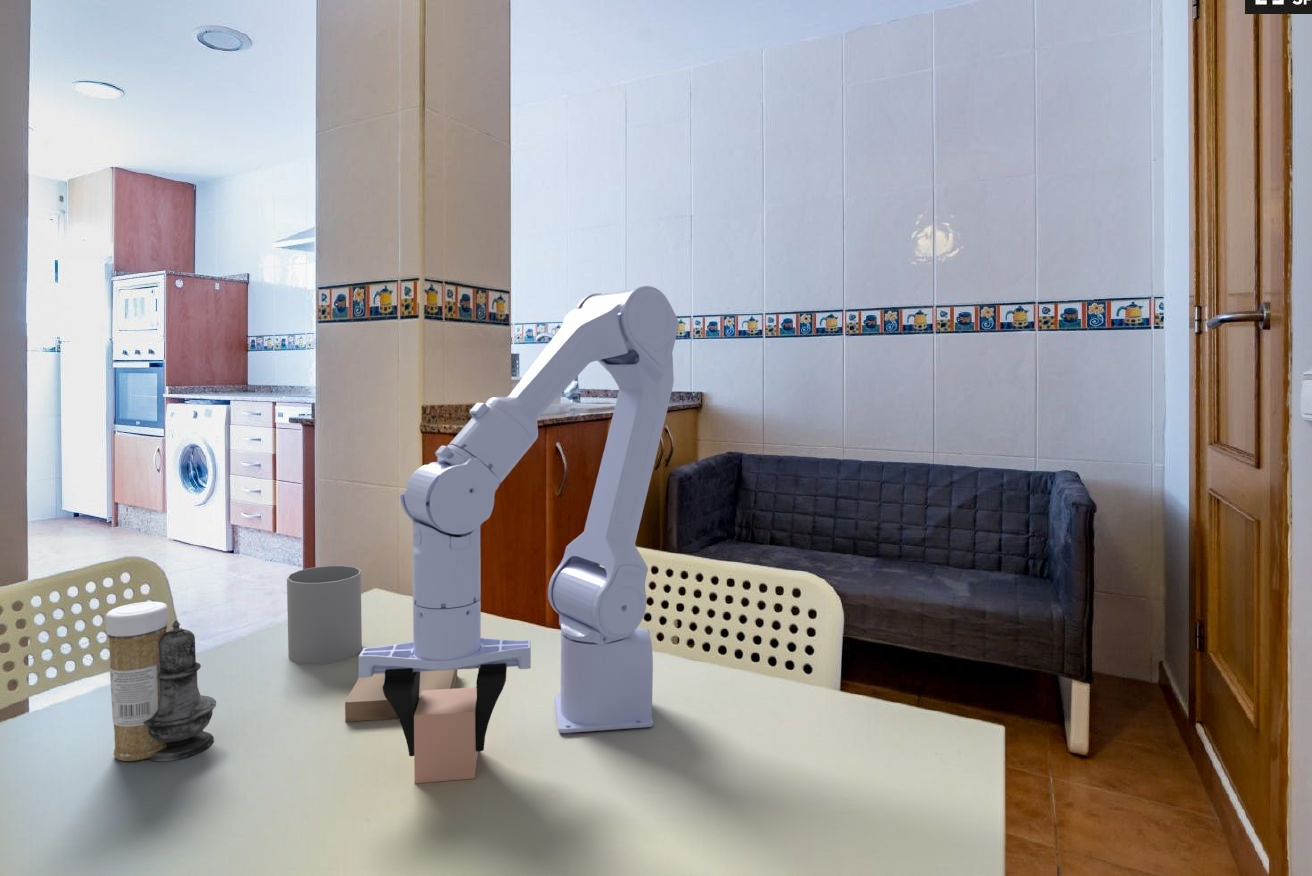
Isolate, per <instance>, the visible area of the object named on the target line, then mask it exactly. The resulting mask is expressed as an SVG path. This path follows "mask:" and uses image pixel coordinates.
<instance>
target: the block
mask: <svg viewBox="0 0 1312 876" xmlns="http://www.w3.org/2000/svg"><path fill="white" fill-rule="evenodd" d="M476 729H477V688H476V687H475V686H473V687H459V688H456V687H455V688H454V689H439V690H422V693H421V696H420V699H419V702H418V705H417V708H416V711H415V714H414V756H413V757H414V758H413V759H414V760H413V761H414V784H423V783H424V784H425V783H426V784H427V783H435V782H436V783H437V782H447V781H448V782H449V781H458V780H459V781H461V780H463V781H464V780H470V779H474V780H475V777H476V772H477V771H476V770H477V764H478V763H477V762H478V755H479V751H476Z"/></svg>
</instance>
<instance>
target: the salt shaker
mask: <svg viewBox="0 0 1312 876" xmlns="http://www.w3.org/2000/svg"><path fill="white" fill-rule="evenodd" d="M180 626H181V623H180V622H179V621H178V620H174V622H173V624H171V627H172V628H171V629H170V630H169V631H166V633H165V634H164V635H163V636H162V638H161V639H160V641H159V654H160V673H159V674H158V675H157V678H160V692H161V696H160V703H159V708H158V710H157V712H156V713H155V714H154V716H153V717H152V718H150V719H148V720H146V721H144V722H143V723H144V724H145V725H148V732H149V734H150V735H151V737H152V738H153V739H155V740H157V741H159V742H166V745H167V747H165V748H164V749H161V750H159V751H157V752H155V753H154V756H151V757H149V758H147V759H148V760H149V761H154V762H163V763H164V762H172V761H173V762H174V761H178V760H182V759H185V758H190V757H192V756H194V755H197V754H199V753H202V752H203V751H205V750H207V749H208V748H209V747H210V746H212V745H213V742H214V737H215V736H214V735H213V734H212V733H210V732H208V731H205V729H206V727H208V725H209V724H210V721H211V719H212V717H213V710H214V709H215V708H216V706H217V701H216V699H215V698H213V697H212V696H208V695H201V692H200V689H199V686H198V671H199V670H200V669H201V668H202V667H201V666H202V665H201V664H200V662H196V661H197V659H196V658H197V656H196V655H197V654H196V637H195V636H196V635H195V634H194V633H193V632H192V631H190V630H188V629H184V628H182V627H180ZM203 730H204V731H203Z"/></svg>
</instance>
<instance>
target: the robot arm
mask: <svg viewBox="0 0 1312 876" xmlns="http://www.w3.org/2000/svg"><path fill="white" fill-rule="evenodd" d="M679 326H680V321H679V320H678V318H677V315H676V314H675V311H674V309H673V306H672V305H671V302H670V301H669V299H668V297H666V295H665V294H664V293H663V292H662V291H661V290H660V289H658V288H656V287H654V286H650V285H643V286H638V287H636V288H633V289H627V290H622V291H621V290H620V291H614V292H607V293H606V292H605V293H602V292H601V293H590V294H588V295H586V296H585V297H583V298H582V299H581V300H580V301H579V302H578V304H577V305H576V307H575V309H572V310H570V311H569V312H568V313H567V314H566V315H565V317H564V318H563V322H562V324H561V327H560V329H559V330H558V331H557V333H556V334H555V335H554V336H553V338H552V339H551V340H550V342H549V343H548V344H547V345H546V347H545V348H544V349H543V351H542V352H541V353H540V354H539V356H538V357H537V359H536V360H535V361H534V362H533V364H531V366H530V367H529V369H528V370H527V371H526V373H525V374H524V375H523V377H522V378H521V379H520V380H519V382H518V383H517V385H516V386H515V387H514V388H513V390H512V391H511V392H510V393H509V395H508V396H494V397H490V398H488V399H487V400H486V401H485V402H476V403H475V404H474V405H473V406H472V408H470V410H469V411H468V413H469V414H470V415H471V417H472V418H470V420H469V421H468V422H467V423H466V424H465V426H463V428H462V429H461V430H460V431H459V432H457V433H458V434H456V435H455V437H454V438H453V439H452V440H451V441H450V442H449V444H447V446H446V445H441V446H440V447H439V448H438V449H437V450H436V451H435V452H434V455H435V456H436V457H437V459H436V460H437V461H433V462H429V463H428V464H424V465H422V466H420V467H419V468H417V469H416V470H415V471H414V472H413V473H412V474H411V476H410V477H409V479H408V481H407V482H406V485H405V487H406V490H404V493H401V494H400V496H399V497H400V504H401V507H402V509H403V511H404V513H405V514H406V515H407V517H408V518H409V519H410V520H411V521H412V603H413V604H412V605H413V606H412V607H413V608H412V611H413V612H412V614H413V615H412V616H413V617H412V618H413V619H412V620H413V621H412V623H413V625H412V626H413V627H412V628H413V630H412V631H413V632H412V633H413V636H412V637H413V638H412V639H413V641H408V642H403V643H396V644H389V645H383V646H373V647H363V648H362V650H361V651H360V652H359V655H358V658H357V659H358V661H357V662H358V679H359V678H367V677H372V676H373V674H384V673H385V679H384V685H383V693H384V695H385V697H386V699H387V700H388V702H389V703H390V705H391V706H392V708H393V710H394V711H395V713H396V715H397V717H398V718H397V719H398V721H399V723H400V724H399V725H400V727H401V728H402V731H403V734H404V737H405V741H406V745H407V751H408V756H409V757H414V714H415V711H416V708H417V705H418V702H419V690H420V672H421V671H439V670H457V671H458V670H473V669H475V670H476V669H478V672H477V676H476V683H475V684H476V685H475V686H476V688H477V729H476V751H478V752H483V751H484V750H485V741H486V735H487V731H488V727H489V723H490V720H491V717H492V713H493V711H494V709H495V706H496V704H497V701H498V699H499V697H500V695H501V693H502V691H503V690H504V687H505V684H506V682H507V672H508V671H507V670H508V669H507V667H509V668H511V667H517V668H518V669H520V670H526V669H527V670H528V669H531V668H532V666H531V662H532V661H531V660H532V659H531V658H532V657H531V656H532V655H531V654H532V652H531V648H532V646H531V645H532V643H531V640H530V639H525V640H523V639H522V640H517V639H516V640H515V639H514V640H513V639H501V638H488V637H481V633H482V632H481V631H482V630H481V629H482V628H481V627H482V626H481V623H482V622H481V620H482V617H481V616H482V615H481V610H482V609H481V608H482V605H481V603H482V602H481V600H482V599H481V597H482V596H481V595H482V594H481V593H482V591H481V584H482V583H481V574H482V573H481V565H482V564H481V563H482V561H481V554H482V553H481V526H482V525H483V523H484V522H485V521H487V520H489V518H490V517H491V515H492V512H493V509H494V505H495V494H496V491H497V490H498V488H499V487H500V485H501V484H502V482H503V481H504V480H505V479H506V477H507V476H508V475H509V474H510V473H511V471H512V470H513V469H514V468H515V466H516V465H517V464H518V463H519V461H520V460H521V459H522V458H523V456H524V455H525V454H526V453H527V452H528V451H529V449H530V448H531V447H532V446H533V444H534V443H535V442H536V441H537V439H538V437H539V428H538V419H539V418H540V417H541V415H543V413H544V412H546V410H547V409H548V408H549V407H550V406H551V405H552V404H553V402H554V401H556V400H557V398H558V397H559V396H560V395H561V394H562V393H563V392H564V391H565V390H566V389H567V388H568V387H569V386H570V385H571V383H573V381H574V380H575V379H576V378H577V377H578V376H579V375H580V374H581V373H582V372H583V370H585V368H587V366H588V365H589V364H591V363H594V362H596V361H597V362H598V363H599V364H600V365H601V366H602V367H603V368H604V369H605V370H606V371H607V372H609V374H610V375H611V377H612V379H614V380H613V381H615V383H616V385H617V387H618V394H617V398H616V402H615V405H614V409H613V410H614V411H613V414H612V417H611V421H610V422H611V423H610V426H609V429H608V434H607V438H606V441H605V446H604V451H603V454H602V458H601V461H600V465H599V471H598V474H597V477H596V482H595V485H594V490H593V494H592V497H591V502H590V506H589V509H588V514H587V518H586V521H585V525H584V529H583V530H584V531H582V533H581V534H579V535H578V536H577V537H575V538H574V539H573V540H572V541H571V542H570V543H568V545H566V547H565V550H564V554H563V558H562V560H561V561H560V563H559V565H558V566H557V567H556V569H555V570H554V572H553V574H552V575H551V577H550V580H549V584H548V589H547V597H548V601H549V604H550V606H551V607H552V609H553V610H554V611H555V613H557V614H558V617H559V618H558V621H559V622H558V625H559V626H560V632H561V633H560V694H558V693H557V694H556V695H555V697H554V701H555V711H556V714H555V715H556V724H557V732H558V733H561V734H567V733H568V734H570V733H582V732H583V733H584V732H593V731H594V732H596V731H597V732H598V731H609V730H610V731H612V730H625V729H635V728H636V729H638V728H640V729H641V728H650V727H652V726H653V725H654V721H653V679H654V678H653V677H654V676H653V674H654V665H653V664H654V661H653V659H654V656H653V646H652V637H651V634H650V632H649V629H648V628H645V627H639V626H640V625H641V622H642V620H643V619H644V617H645V614H646V609H647V590H646V581H647V580H646V579H647V576H648V575H647V574H648V571H649V568H648V566H647V564H646V562H645V560H644V558H643V556H642V555H641V553H640V552H639V549H638V547H637V545H636V541H637V536H638V532H639V529H640V524H641V520H642V516H643V511H644V509H645V504H646V500H647V496H648V492H649V487H650V484H651V483H650V482H651V480H652V474H653V472H654V471H653V470H654V468H655V467H654V466H655V463H656V459H657V454H658V450H659V446H660V441H661V437H662V433H663V429H664V425H665V421H666V418H667V413H668V408H669V405H670V401H671V398H672V396H671V395H672V393H673V387H674V382H675V381H674V362H673V361H674V359H673V358H674V357H673V352H674V351H673V350H674V348H675V342H676V339H677V335H678V331H679Z"/></svg>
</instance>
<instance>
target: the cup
mask: <svg viewBox="0 0 1312 876" xmlns="http://www.w3.org/2000/svg"><path fill="white" fill-rule="evenodd" d="M286 594H287V595H286V596H287V597H286V601H287V602H286V603H287V605H286V606H287V638H288V639H287V644H288V645H287V646H288V648H287V650H288V651H287V653H288V658H289V659H290V661H291V662H292V663H296V664H301V665H306V666H307V665H308V666H309V665H311V666H312V665H326V664H331V663H332V664H333V663H337V662H341V661H343V660H347V659H349V658H353V657H354V656H355V654H356V655H357V654H359V653H361V652H362V650H361V649H362V647H363V643H362V641H363V639H362V638H363V637H362V635H363V634H362V633H363V632H362V625H363V624H362V570H361V569H360V568H357V567H356V566H348V565H323V566H316V567H310V568H305V569H301V570H296V571H295V572H293V573H290V574H288V576H287V578H286ZM358 652H359V653H358Z"/></svg>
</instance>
